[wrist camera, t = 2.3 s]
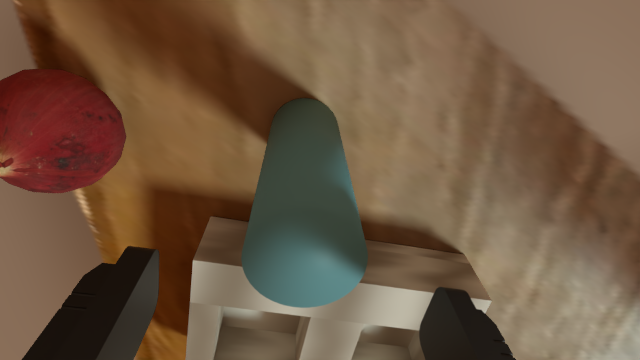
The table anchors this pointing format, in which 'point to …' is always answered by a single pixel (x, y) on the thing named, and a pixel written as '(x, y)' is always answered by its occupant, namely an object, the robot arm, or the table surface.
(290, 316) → the hole board
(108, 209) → the table surface
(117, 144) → the onion
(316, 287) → the pin
